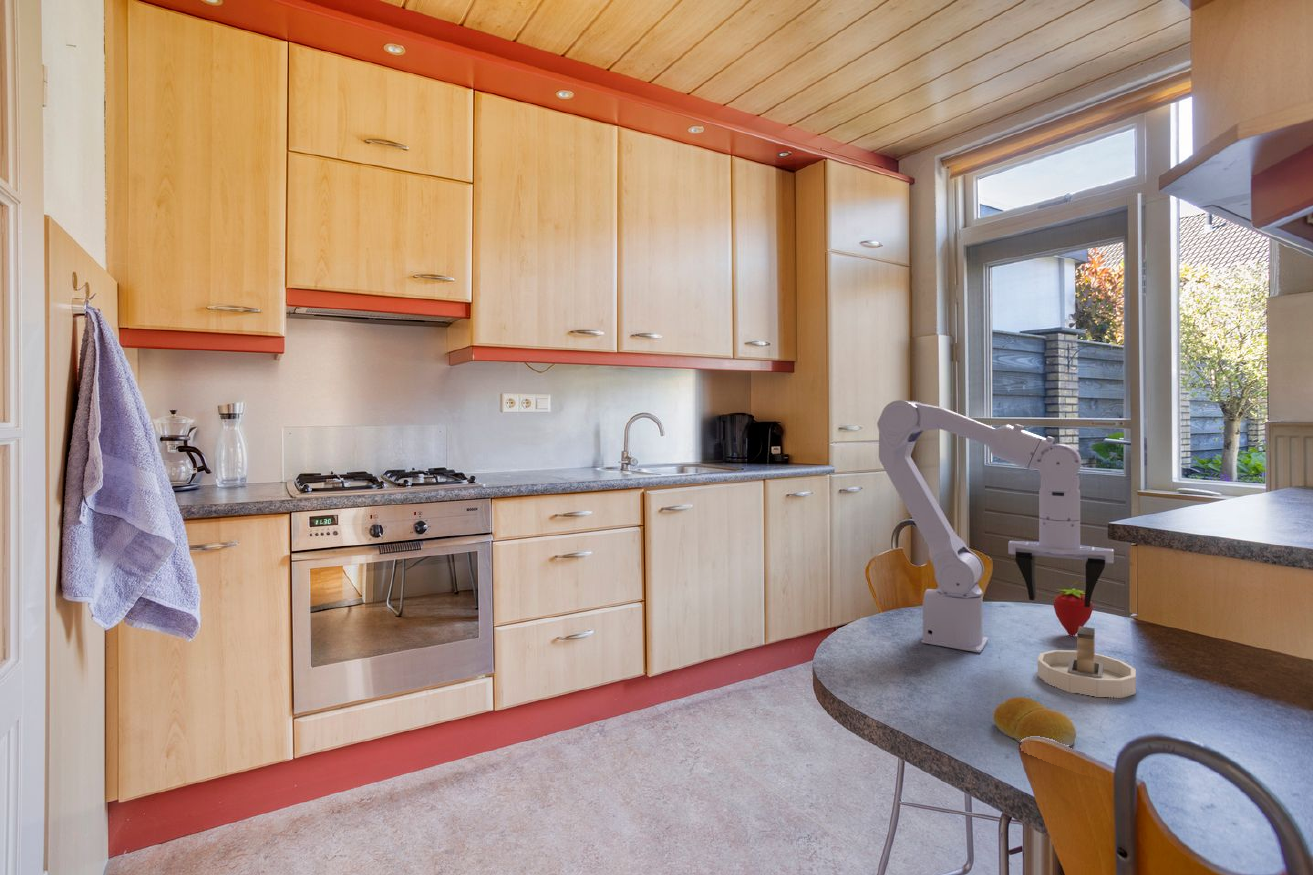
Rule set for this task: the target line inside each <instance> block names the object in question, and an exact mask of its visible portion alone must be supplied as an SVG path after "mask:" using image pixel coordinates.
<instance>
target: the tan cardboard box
mask: <svg viewBox="0 0 1313 875" xmlns="http://www.w3.org/2000/svg"><path fill="white" fill-rule="evenodd" d="M1095 631H1096V630H1095V627H1087V626H1083V627H1081V626H1079V628H1078V632H1077V634H1076V635H1077V636H1076V640H1077V641H1076V645H1077V646H1076V647H1077V649H1076V651H1077V671H1079V672H1084V673H1090V674H1095V654H1096V652H1095V650H1096V649H1095V647H1096V645H1095V642H1096V641H1095V634H1096V633H1095Z"/></svg>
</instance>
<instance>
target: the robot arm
mask: <svg viewBox="0 0 1313 875" xmlns="http://www.w3.org/2000/svg"><path fill="white" fill-rule="evenodd" d="M876 425H877V429H878V459H879V462H880V463H881V465H882V467H883V469H884V470H885V472H886V474H887V475H888V478H889V480H890V481H891V483H892V485H893V487H894V489H895V490H896V492H897V493H898V495H899V497H900V498H901V501H902V503H903V504H904V506H905V507H906V509H907V510H906V511H907V512H908V513H909V514H910V517H911V518H912V520H913V522H914V523H915V525H916V527H917V529H918V531H919V533H920V535H921V536H922V538H923V540H924V541H925V543H926V545H927V548H928V556H929V561H930V563H931V564H932V566H933V570H934V578H935V582H936V585H938V586H937V587H936V589H933V588H927V589H925V592H924V595H923V600H922V639H921V643H922V644H929V645H934V646H939V647H943V648H944V647H945V648H951V649H957V650H962V651H968V652H974V653H981V652H982V651H983V649H984V648H985V646H986V645H987V643H988V642H989V637H987V636H984V635H983V623H984V622H983V590H982V589H981V588H980V586H979V585H980V584H978V582H980V580H981V579H982V577H983V576H984V572H985V571H984V570H985V568H984V564H983V561H982V560H981V558H980V557H979V556H978V555H977V554H976V553H974V552H973V551H971V549H969V548H968V546H967V545H966V542H965V541H964V540H963V539H962V538H960V536H958V535H957V534H956V533H955V530H954V529H953V527H952V526H951V524H950V522H949V521H948V519H947V517H946V515H945V514H944V512H943V510H942V508H941V506H940V504H938V502H937V500H936V498H935V497H934V495H933V493H932V491H931V490H930V487H929V486H928V484H927V482H926V480H925V479H924V478H923V475H922V474H921V472H920V471H919V468H918V467H917V465H916V463H915V462H914V460H913V458H912V457H911V456H912V453H913V450H914V447H915V445H916V442H917V440H918V438H920V436H921V435H922V434H923V433H924V431H934V430H943V431H944V432H947V433H950V434H951V433H952V434H953V435H956V436H959V437H963V438H966V439H969V440H971V441H974V442H977V443H979V444H983V445H986V446H987V447H988V449H989V451H990V453H991V455H992V456H993V457H995V458H998V459H1001V460H1003V461H1005V462H1008V463H1011V464H1013V465H1016V466H1018V467H1022V468H1023V469H1026V470H1029V471H1033V470H1037V471H1038V473H1039V475H1040V488H1039V490H1038V491H1039V492H1038V493H1039V494H1038V495H1039V496H1038V497H1039V500H1038V502H1039V503H1038V504H1039V506H1038V507H1039V508H1038V511H1039V512H1038V522H1039V523H1038V525H1039V526H1038V528H1039V529H1038V530H1039V531H1038V533H1039V534H1038V537H1039V538H1038V541H1025V540H1024V541H1022V540H1019V541H1018V540H1009V541H1008V543H1007V544H1008V546H1007V547H1008V548H1007V550H1008V553H1007V554H1009V555H1015V558H1014V560H1015V563H1016V565H1017V566H1018V568H1019V570H1020V572H1021V575H1022V578H1023V580H1024V583H1025V587H1026V589H1027V593H1028V599H1029V600H1030V601H1035V599H1036V592H1037V591H1036V578H1035V570H1036V568H1035V567H1036V566H1035V565H1036V556H1037V557H1038V556H1039V557H1049V558H1059V559H1060V558H1061V559H1070V560H1080V561H1081V560H1082V561H1086V562H1085V590H1084V591H1085V592H1084V593H1085V595H1084V596H1085V600H1084V606H1085V607H1090V602H1091V601H1092V595H1093V592H1094V590H1095V587H1096V585H1097V582H1098V581H1099V578H1100V576H1102V573H1103V571H1104V570H1105V568H1106V564H1114V563H1115V562H1114V560H1115V559H1114V558H1115V555H1114V553H1115V549H1113V548H1107V547H1106V548H1105V547H1096V546H1089V545H1082V544H1081V490H1080V485H1081V480H1080V478H1079V477H1080V476H1079V474H1078V473H1080V469H1081V467H1082V457H1081V454H1080V453H1079V451H1078V450H1077V449H1075V448H1074V447H1073V446H1071V445H1068V444H1067V443H1066V442H1055V443H1054V441H1055V437H1053V436H1048V435H1047V437H1043V436H1040V435H1038V434H1035V433H1032V432H1030V431H1026V430H1024V428H1025V426H1024V425H1022V424H1018V423H1015V424H1014V425H1013V426H1012V425H1010V424H1004V425H1002V426H999V427H996V428H995V427H992V426H990V425H989V424H988V425H987V424H985V423H982V422H980V421H978V420H975V419H973V418H970V417H967V416H965V415H962V414H960V413H957V412H955V411H953V410H950V409H948V408H945V407H940V406H937V405H931V404H927V403H921V402H920V401H916V400H908V401H907V400H901V399H898V400H893V401H891V402H889V403H888V404H886V405H885V406H884V408H883V409H882V412H881V414H880V416H879V417H878V420H877V423H876ZM1077 474H1078V475H1077Z"/></svg>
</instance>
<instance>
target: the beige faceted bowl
mask: <svg viewBox="0 0 1313 875" xmlns="http://www.w3.org/2000/svg"><path fill="white" fill-rule="evenodd" d="M1038 676H1039V677H1038ZM1037 677H1038V678H1040V679H1041V680H1042V681H1043V680H1044V681H1043V682H1044V683H1046V684H1047V683H1048V684H1049V685H1048V684H1047V685H1048V686H1051V685H1052V687H1054V686H1055V687H1054V688H1056V687H1057V689H1059V690H1062V691H1065V692H1068V693H1071V694H1075V693H1080V694H1079V695H1081V694H1086V695H1090V696H1089V697H1091V696H1096V697H1109V698H1108V699H1124V698H1127V697H1130V696H1133V695H1136V693H1137V670H1136V668H1135V667H1133V666H1131V665H1130V664H1128V663H1126V662H1124V660H1120V659H1116V658H1113V657H1110V656H1106V655H1103V654H1100V653H1095V674H1090V673H1084V672H1079V671H1077V650H1072V649H1071V650H1070V649H1069V650H1066V649H1065V650H1063V649H1052V650H1049V651H1045V652H1040V653H1039V655H1038V658H1037ZM1086 695H1085V696H1086ZM1096 697H1095V698H1096ZM1110 697H1111V698H1110ZM1113 697H1114V698H1113Z"/></svg>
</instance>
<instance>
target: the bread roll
mask: <svg viewBox="0 0 1313 875" xmlns="http://www.w3.org/2000/svg"><path fill="white" fill-rule="evenodd" d="M992 716H993V722H994V725H995V726H996V727H997V730H999V732H1000V733H1003V734H1004V735H1005V736H1006V737H1010V738H1011V739H1015V741H1017V742H1018V743H1020V741H1021V740H1022V739H1024V738H1026V737H1030V736H1040V737H1045V738H1049V739H1053V740H1055V741H1057V742H1059V743H1062V744H1065V745H1069V746H1070V747H1072V746H1073V745H1074V743H1075V741H1076V736H1077V733H1076V732H1077V731H1076V728H1075V725H1074V724H1073V722H1072V721H1071V720H1070V718H1069V717H1067V716H1066V714H1063V713H1061V712H1059V711H1056V710H1052V709H1048V708H1046V707H1045V706H1044V705H1043V704H1042V703H1040V702H1038V701H1036V700H1034V699H1031V698H1027V697H1023V696H1021V697H1017V696H1016V697H1012V698H1008V699H1007V700H1005V701H1004V702H1002V703H1001V704H999V705H997V707H996V708H994V710H993V715H992Z"/></svg>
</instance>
